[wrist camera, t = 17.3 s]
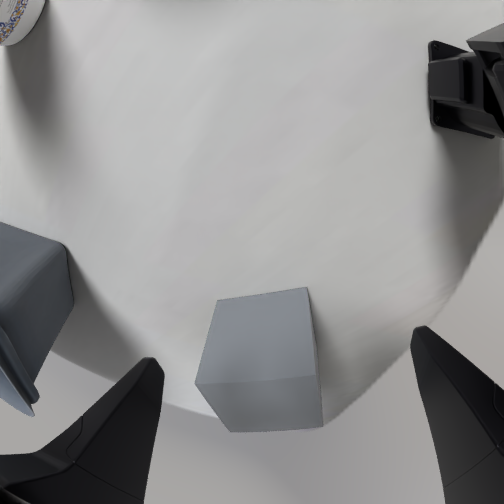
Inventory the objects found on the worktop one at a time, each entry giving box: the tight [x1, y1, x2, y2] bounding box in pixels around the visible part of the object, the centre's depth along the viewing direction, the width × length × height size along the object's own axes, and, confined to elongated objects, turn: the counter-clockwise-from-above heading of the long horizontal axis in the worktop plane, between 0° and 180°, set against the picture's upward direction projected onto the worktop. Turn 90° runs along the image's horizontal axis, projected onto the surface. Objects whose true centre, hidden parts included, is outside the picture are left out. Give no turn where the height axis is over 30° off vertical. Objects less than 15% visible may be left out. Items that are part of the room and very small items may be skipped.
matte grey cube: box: [195, 287, 323, 432], centre depth 22 cm, size 8×8×9 cm
